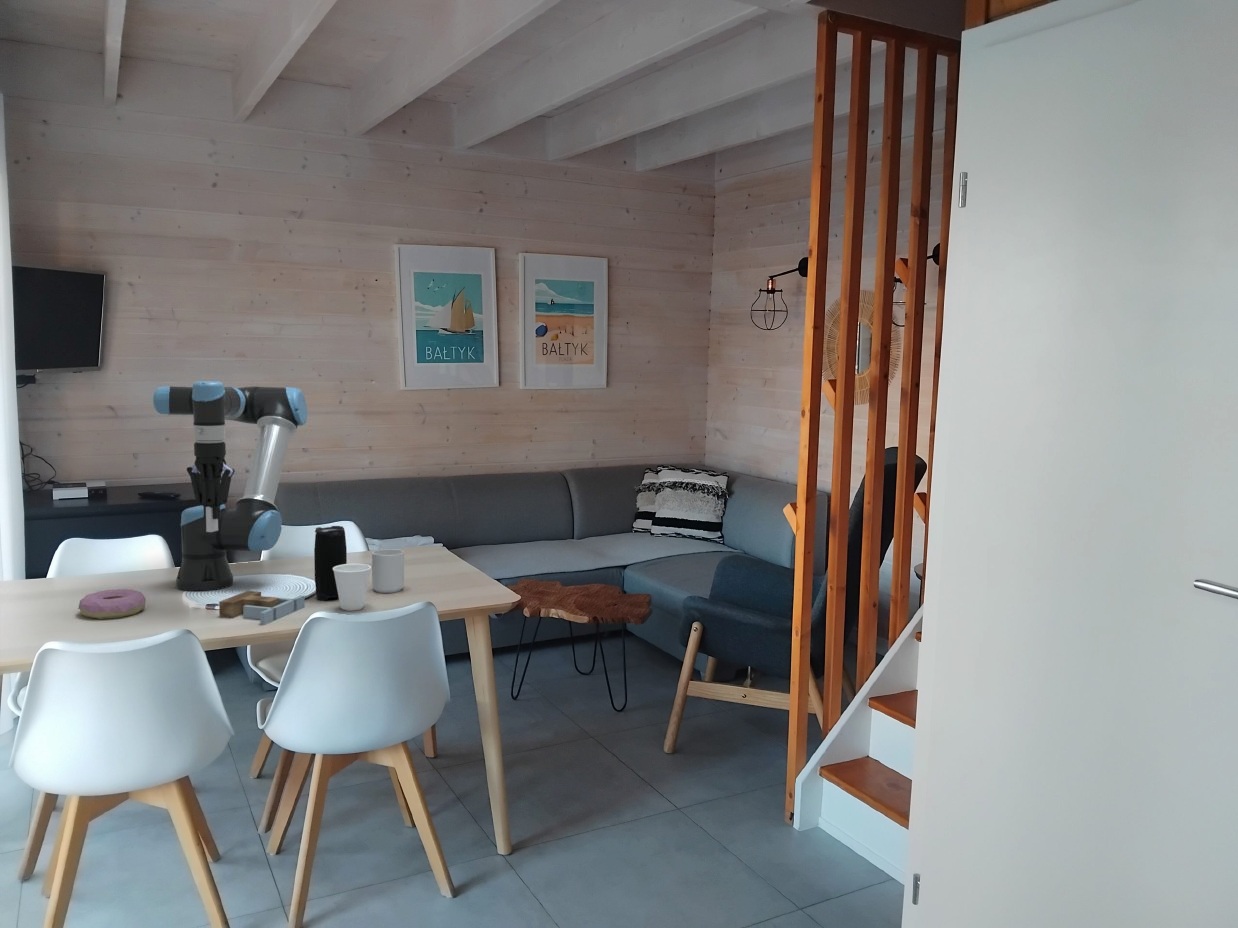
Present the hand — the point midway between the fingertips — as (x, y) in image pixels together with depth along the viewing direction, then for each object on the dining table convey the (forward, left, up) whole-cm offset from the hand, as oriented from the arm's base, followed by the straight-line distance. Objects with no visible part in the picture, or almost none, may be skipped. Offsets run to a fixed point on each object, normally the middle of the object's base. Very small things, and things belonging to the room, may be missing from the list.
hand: (212, 530), depth 250 cm
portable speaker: (+23, +19, -21) cm, 37 cm away
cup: (+34, +11, -21) cm, 41 cm away
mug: (+33, +33, -21) cm, 51 cm away
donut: (-21, -12, -21) cm, 32 cm away
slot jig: (+17, -1, -21) cm, 27 cm away
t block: (+13, -1, -21) cm, 24 cm away
